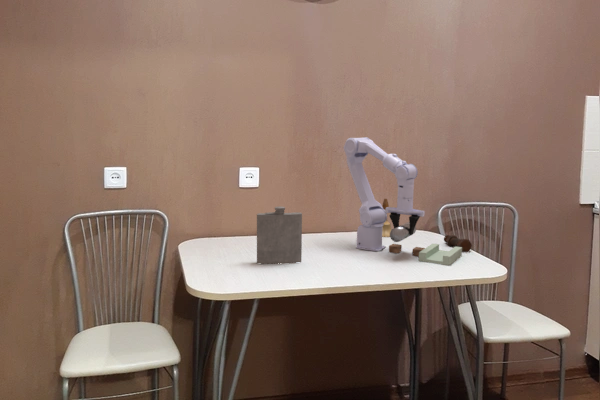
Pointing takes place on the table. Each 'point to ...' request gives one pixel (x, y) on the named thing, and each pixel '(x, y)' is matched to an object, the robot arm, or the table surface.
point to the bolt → (458, 242)
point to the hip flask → (279, 237)
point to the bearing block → (397, 248)
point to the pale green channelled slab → (439, 255)
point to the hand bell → (386, 222)
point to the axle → (401, 232)
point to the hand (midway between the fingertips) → (403, 233)
